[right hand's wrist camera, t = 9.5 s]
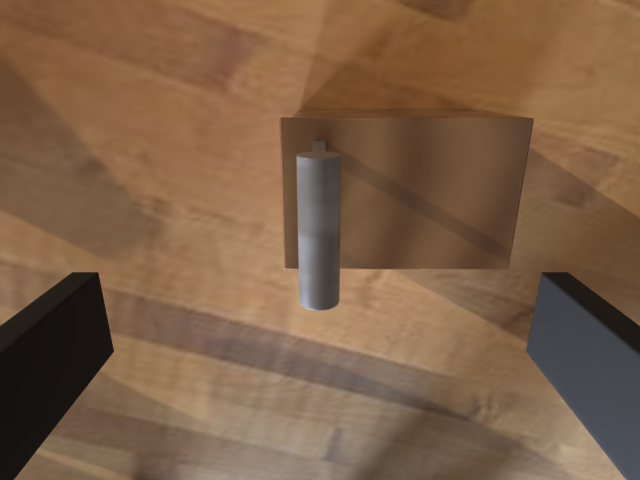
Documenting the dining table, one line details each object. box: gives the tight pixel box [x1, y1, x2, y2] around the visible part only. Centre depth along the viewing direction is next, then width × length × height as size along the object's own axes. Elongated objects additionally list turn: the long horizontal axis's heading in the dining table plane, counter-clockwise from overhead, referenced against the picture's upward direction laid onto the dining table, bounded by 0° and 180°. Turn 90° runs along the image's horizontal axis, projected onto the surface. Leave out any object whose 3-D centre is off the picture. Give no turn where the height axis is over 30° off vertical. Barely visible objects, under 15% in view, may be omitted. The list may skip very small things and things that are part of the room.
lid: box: [280, 117, 533, 310], centre depth 22 cm, size 14×9×8 cm, turn 90°
